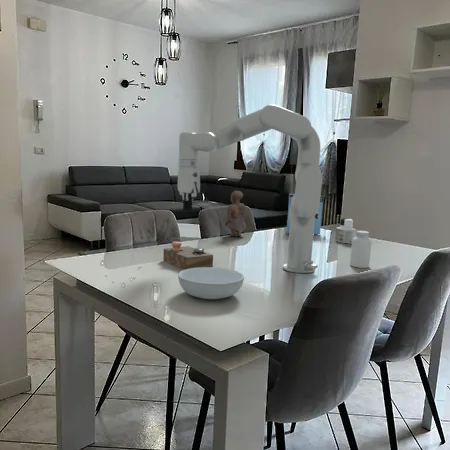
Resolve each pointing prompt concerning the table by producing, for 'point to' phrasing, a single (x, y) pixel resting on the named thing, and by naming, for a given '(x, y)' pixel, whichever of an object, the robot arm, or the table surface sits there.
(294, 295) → the table surface
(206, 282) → the serving bowl
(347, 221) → the container
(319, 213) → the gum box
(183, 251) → the block
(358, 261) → the pill bottle
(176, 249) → the rust plug
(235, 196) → the clay figurine
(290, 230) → the robot arm
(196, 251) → the plug
